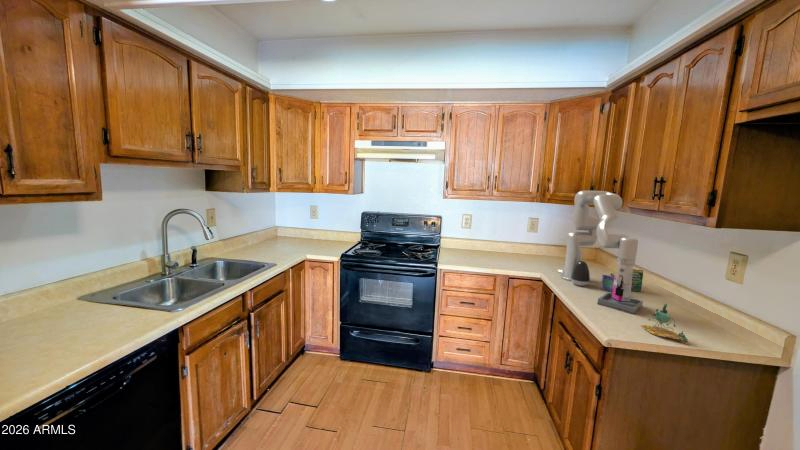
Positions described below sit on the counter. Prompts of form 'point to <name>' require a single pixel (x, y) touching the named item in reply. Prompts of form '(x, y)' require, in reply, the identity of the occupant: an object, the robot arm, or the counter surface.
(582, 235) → the robot arm
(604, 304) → the tray
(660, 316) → the frog figurine
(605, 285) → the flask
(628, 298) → the supplement box
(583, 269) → the dark grey domed cylinder
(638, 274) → the coffee box
